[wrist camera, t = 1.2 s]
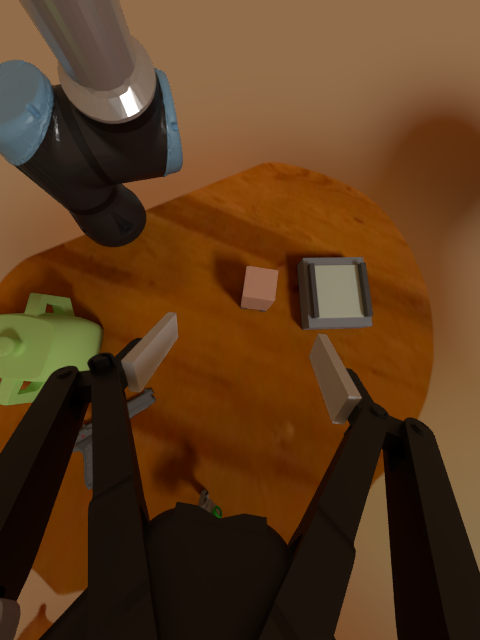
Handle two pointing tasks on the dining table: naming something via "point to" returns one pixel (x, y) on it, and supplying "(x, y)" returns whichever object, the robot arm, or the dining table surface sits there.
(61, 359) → the teapot
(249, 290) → the block
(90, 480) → the handgun
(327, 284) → the step
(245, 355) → the dining table surface
